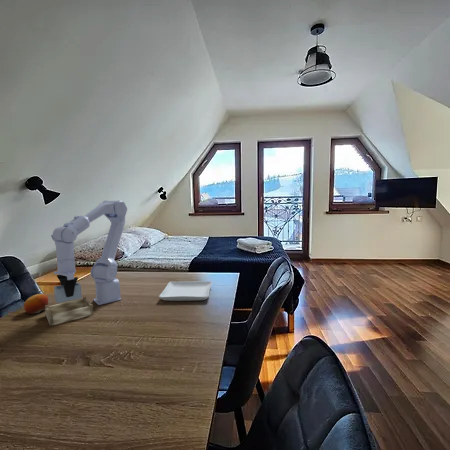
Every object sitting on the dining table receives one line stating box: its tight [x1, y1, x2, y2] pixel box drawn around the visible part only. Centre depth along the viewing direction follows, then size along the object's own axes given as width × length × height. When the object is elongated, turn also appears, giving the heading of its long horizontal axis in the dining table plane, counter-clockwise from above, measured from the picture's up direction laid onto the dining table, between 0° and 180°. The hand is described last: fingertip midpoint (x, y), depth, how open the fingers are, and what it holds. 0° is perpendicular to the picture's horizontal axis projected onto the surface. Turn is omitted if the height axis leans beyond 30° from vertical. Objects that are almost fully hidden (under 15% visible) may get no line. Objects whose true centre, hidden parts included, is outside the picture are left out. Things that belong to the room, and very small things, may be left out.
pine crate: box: [45, 296, 94, 326], centre depth 104 cm, size 14×11×4 cm
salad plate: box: [158, 280, 213, 302], centre depth 125 cm, size 21×21×3 cm
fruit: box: [23, 293, 49, 315], centre depth 108 cm, size 8×8×8 cm
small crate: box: [53, 281, 83, 304], centre depth 103 cm, size 8×5×5 cm
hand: (68, 294), depth 103 cm, fingers closed on small crate, 5 cm apart
